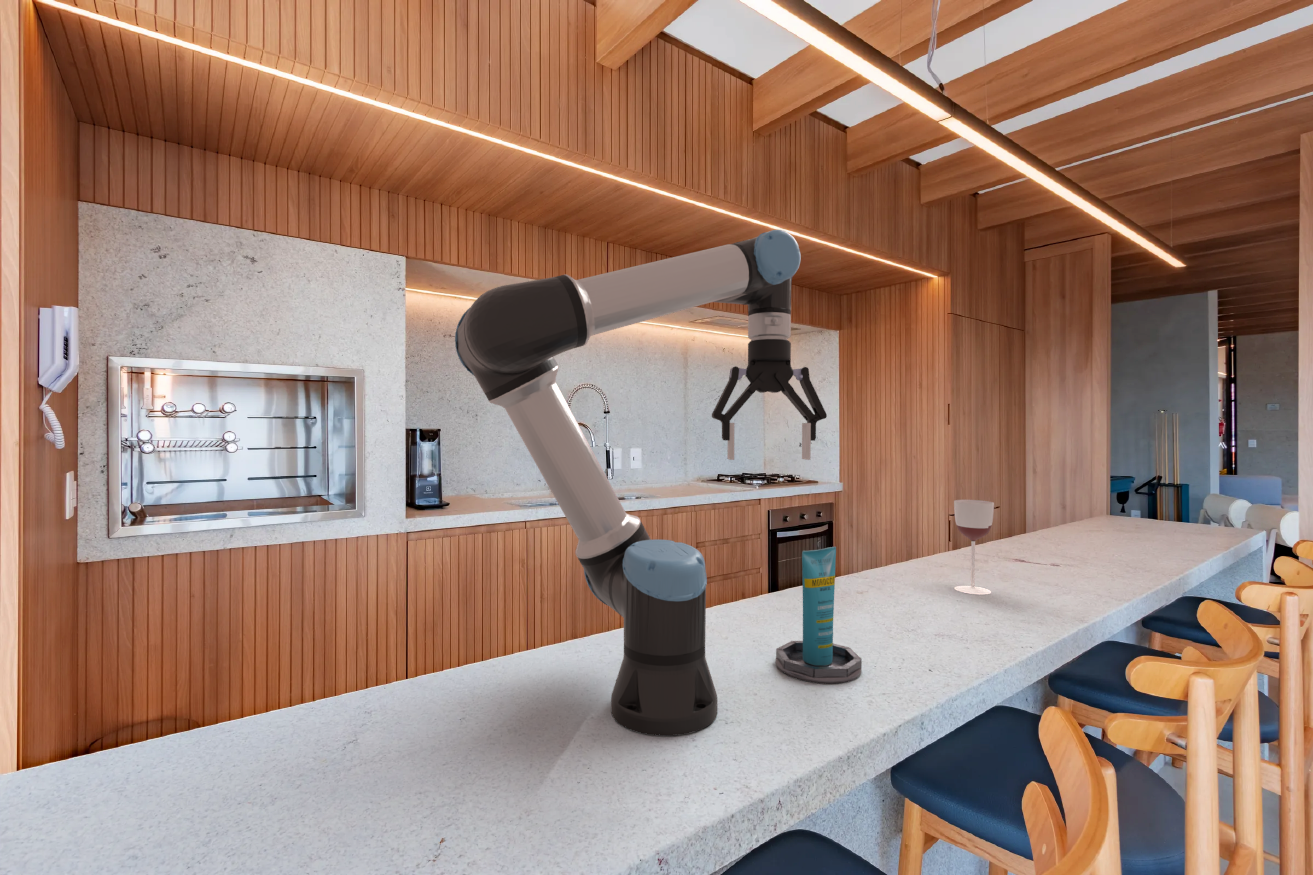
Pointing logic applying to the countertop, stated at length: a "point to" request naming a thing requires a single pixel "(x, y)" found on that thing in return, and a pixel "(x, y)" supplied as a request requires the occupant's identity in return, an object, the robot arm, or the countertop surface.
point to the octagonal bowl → (839, 671)
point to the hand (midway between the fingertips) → (768, 459)
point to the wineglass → (973, 531)
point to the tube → (818, 605)
